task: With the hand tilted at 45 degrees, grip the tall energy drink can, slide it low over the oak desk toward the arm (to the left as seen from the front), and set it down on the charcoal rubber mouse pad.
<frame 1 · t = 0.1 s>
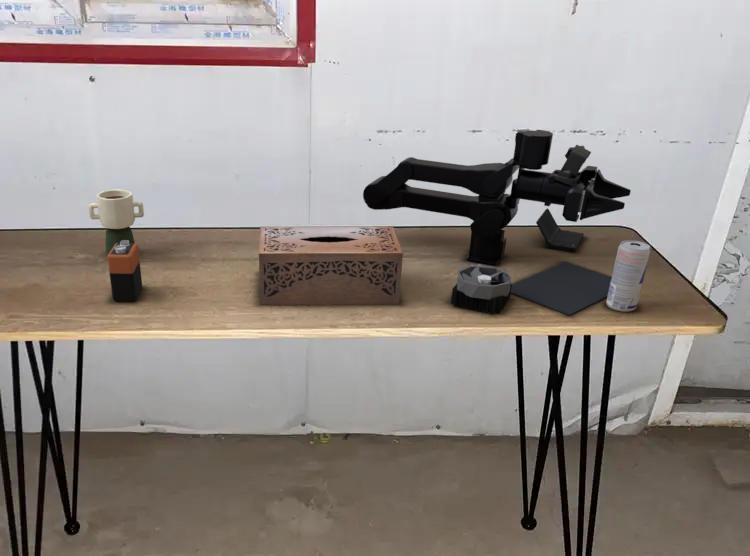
hand: (627, 199, 146), 17 cm above the table, tool horizontal, fingers open, 9 cm apart
mouse pad: (567, 287, 151), on the table
energy drink: (620, 307, 144), on the table
battery: (128, 295, 146), on the table
tissue box cover: (327, 289, 149), on the table
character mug: (121, 255, 164), on the table
cpu cooler: (480, 303, 145), on the table
handheld gaming console: (557, 242, 174), on the table
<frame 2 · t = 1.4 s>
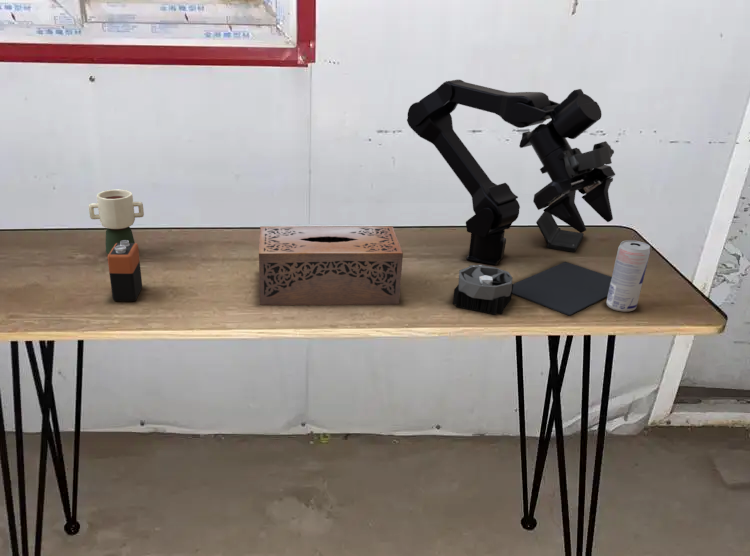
hand: (597, 226, 142), 13 cm above the table, tool tilted 45°, fingers open, 9 cm apart
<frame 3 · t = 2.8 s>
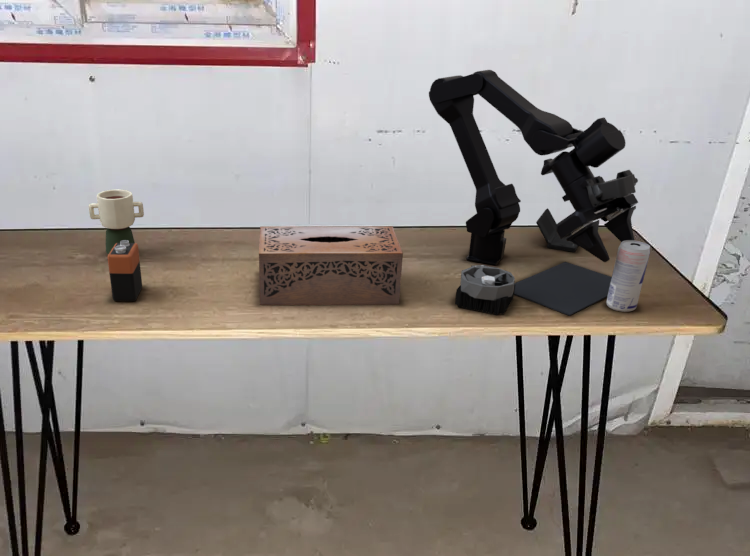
hand: (620, 255, 140), 9 cm above the table, tool tilted 45°, fingers open, 9 cm apart
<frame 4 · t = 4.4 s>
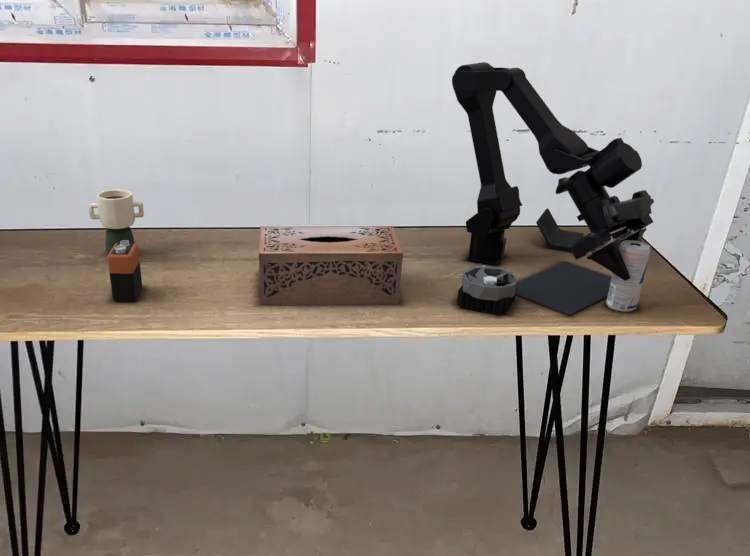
hand: (635, 275, 139), 7 cm above the table, tool tilted 45°, fingers closed on energy drink, 5 cm apart
energy drink: (620, 307, 144), on the table, touching gripper
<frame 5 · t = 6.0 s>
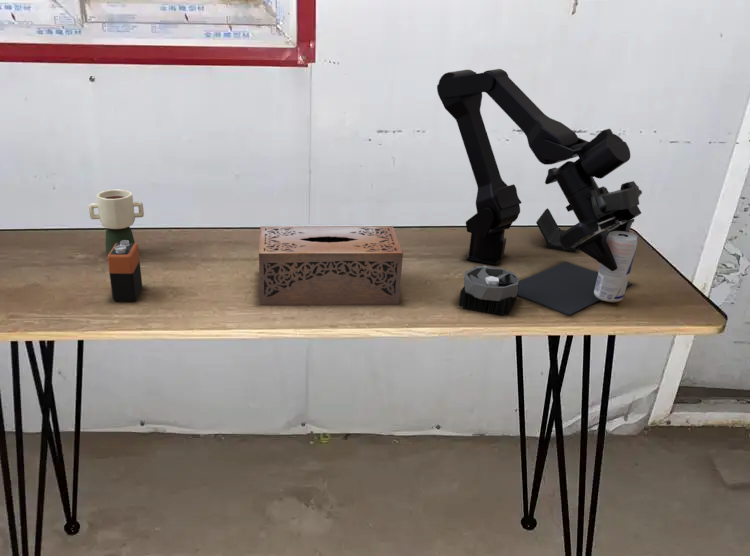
hand: (623, 266, 141), 8 cm above the table, tool tilted 45°, fingers closed on energy drink, 5 cm apart
energy drink: (607, 297, 145), point 1 cm above the table, touching gripper
when the fingers open (7 cm above the table, at t = 7.9 s): energy drink stays where it is, resting on mouse pad.
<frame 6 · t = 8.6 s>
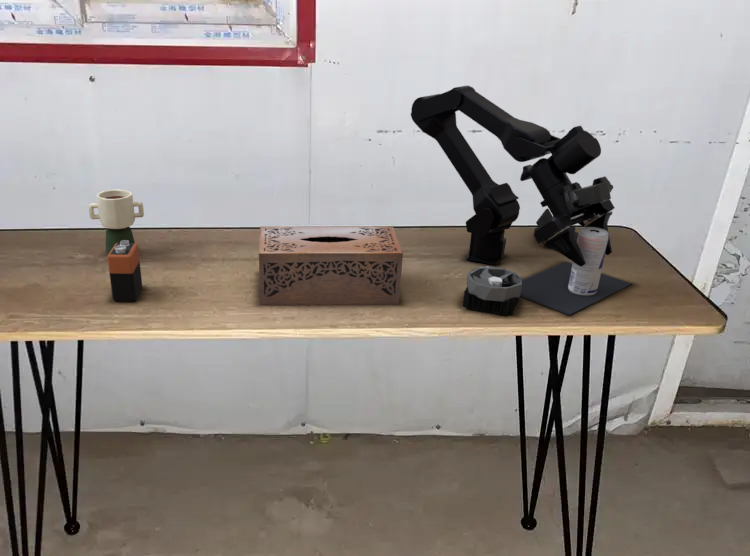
hand: (596, 259, 144), 7 cm above the table, tool tilted 45°, fingers open, 9 cm apart
energy drink: (581, 292, 149), resting on mouse pad
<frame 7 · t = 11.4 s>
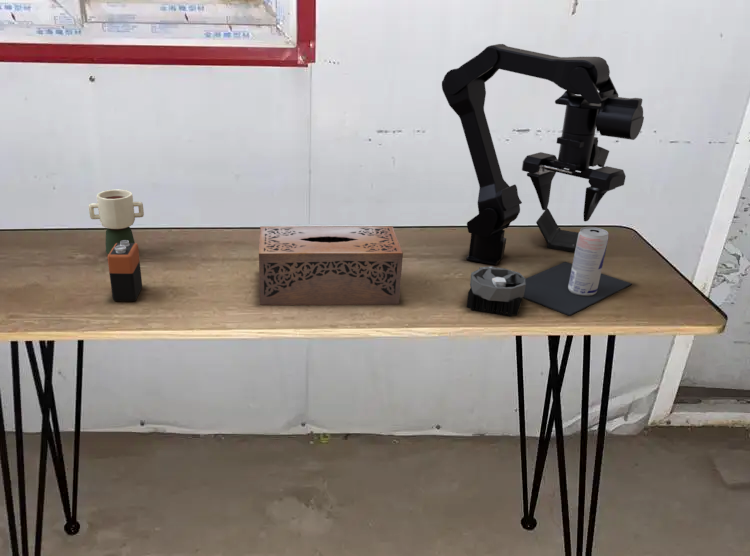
hand: (564, 215, 149), 13 cm above the table, tool pointing down, fingers open, 9 cm apart
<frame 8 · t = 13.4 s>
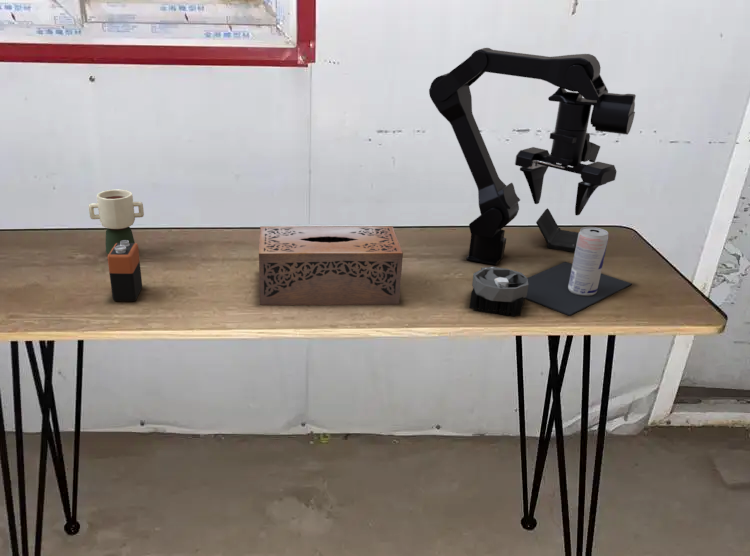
hand: (556, 209, 152), 13 cm above the table, tool pointing down, fingers open, 9 cm apart
at the end: energy drink 0.1 cm from the target spot, resting on mouse pad; energy drink moved 8.2 cm from its start; energy drink tilted 0° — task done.
